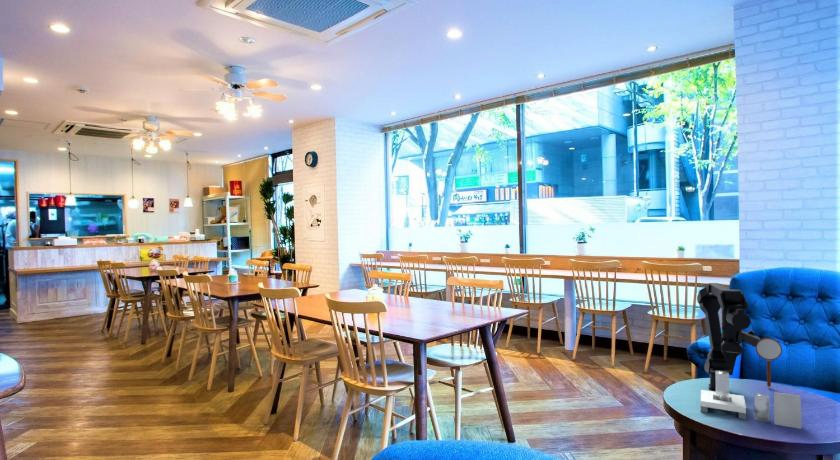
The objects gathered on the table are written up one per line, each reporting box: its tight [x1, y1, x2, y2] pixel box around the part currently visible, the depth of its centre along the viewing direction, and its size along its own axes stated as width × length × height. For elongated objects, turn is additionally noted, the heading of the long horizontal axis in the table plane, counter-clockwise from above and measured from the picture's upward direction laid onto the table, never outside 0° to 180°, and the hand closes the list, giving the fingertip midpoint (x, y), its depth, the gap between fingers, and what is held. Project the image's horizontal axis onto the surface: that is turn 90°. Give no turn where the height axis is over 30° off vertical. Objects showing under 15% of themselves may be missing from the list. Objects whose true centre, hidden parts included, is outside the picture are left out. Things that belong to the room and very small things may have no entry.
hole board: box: [700, 389, 747, 420], centre depth 167 cm, size 13×13×4 cm
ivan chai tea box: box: [773, 391, 803, 430], centre depth 153 cm, size 4×7×10 cm, turn 57°
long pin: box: [715, 371, 730, 412], centre depth 167 cm, size 4×4×13 cm
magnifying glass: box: [754, 337, 783, 389], centre depth 187 cm, size 9×2×20 cm, turn 64°
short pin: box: [753, 392, 770, 423], centre depth 157 cm, size 4×4×8 cm
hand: (731, 366), depth 173 cm, fingers open, 9 cm apart
